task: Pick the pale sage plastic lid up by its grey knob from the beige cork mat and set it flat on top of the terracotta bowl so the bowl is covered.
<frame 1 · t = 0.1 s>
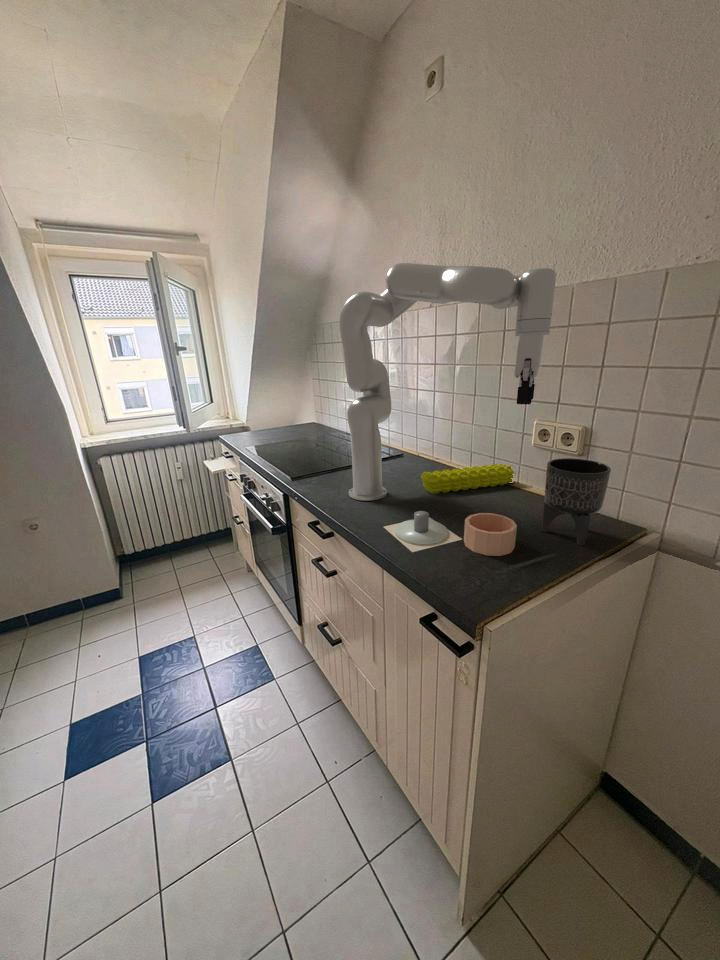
hand: (525, 401, 94), 31 cm above the worktop, tool pointing down, fingers open, 9 cm apart
planter: (567, 535, 93), on the worktop
mat: (421, 534, 95), on the worktop
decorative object: (468, 488, 127), on the worktop
lid: (421, 532, 95), point 1 cm above the worktop, touching mat
bowl: (488, 545, 88), on the worktop
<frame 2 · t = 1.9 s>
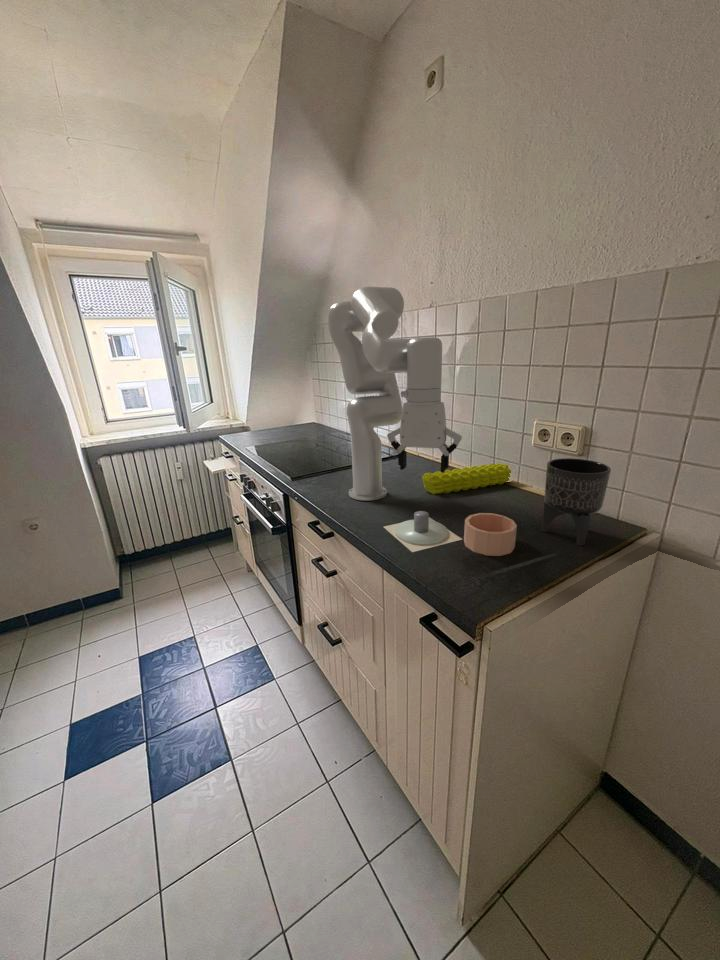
hand: (423, 469, 89), 17 cm above the worktop, tool pointing down, fingers open, 9 cm apart
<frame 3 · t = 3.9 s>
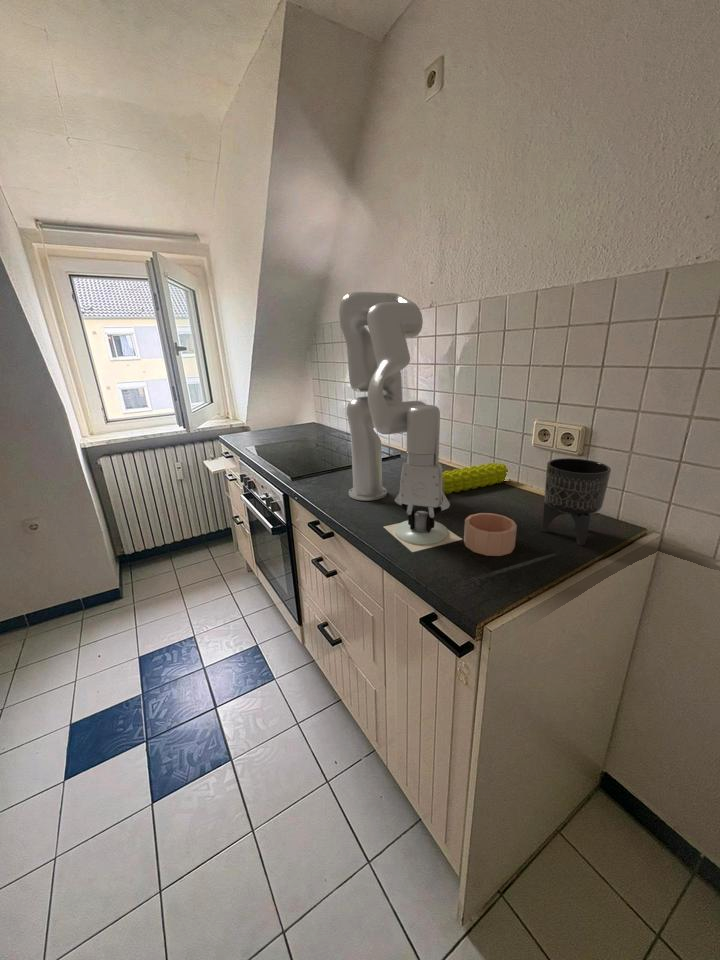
hand: (421, 528, 94), 2 cm above the worktop, tool pointing down, fingers closed on lid, 3 cm apart
lid: (421, 532, 95), point 1 cm above the worktop, touching gripper, mat
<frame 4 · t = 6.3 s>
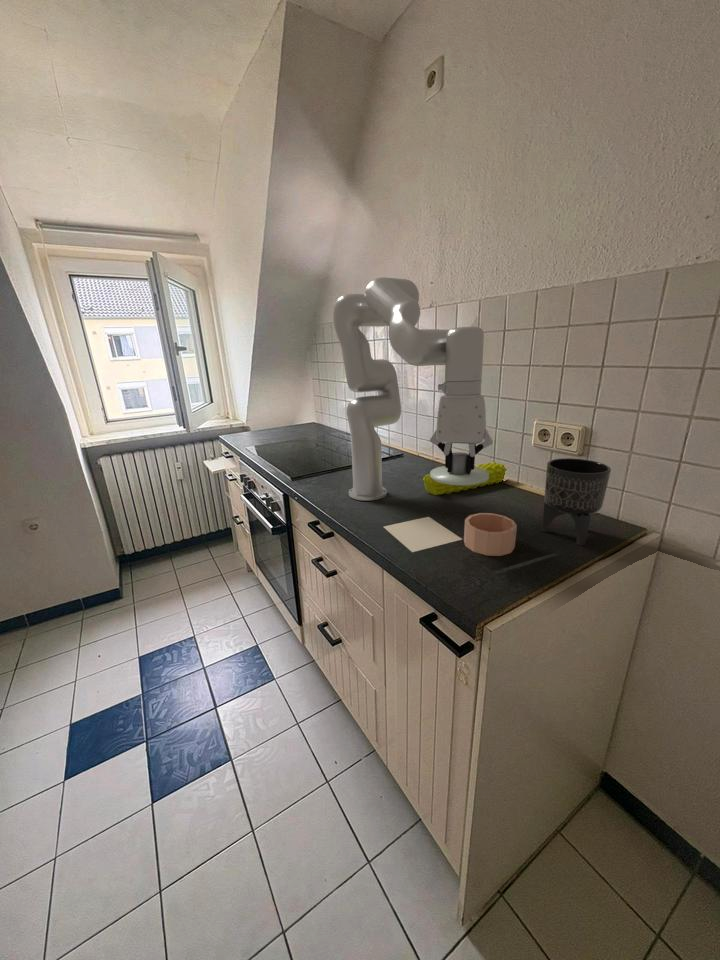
hand: (459, 470, 86), 18 cm above the worktop, tool pointing down, fingers closed on lid, 3 cm apart
lid: (459, 476, 86), point 17 cm above the worktop, touching gripper
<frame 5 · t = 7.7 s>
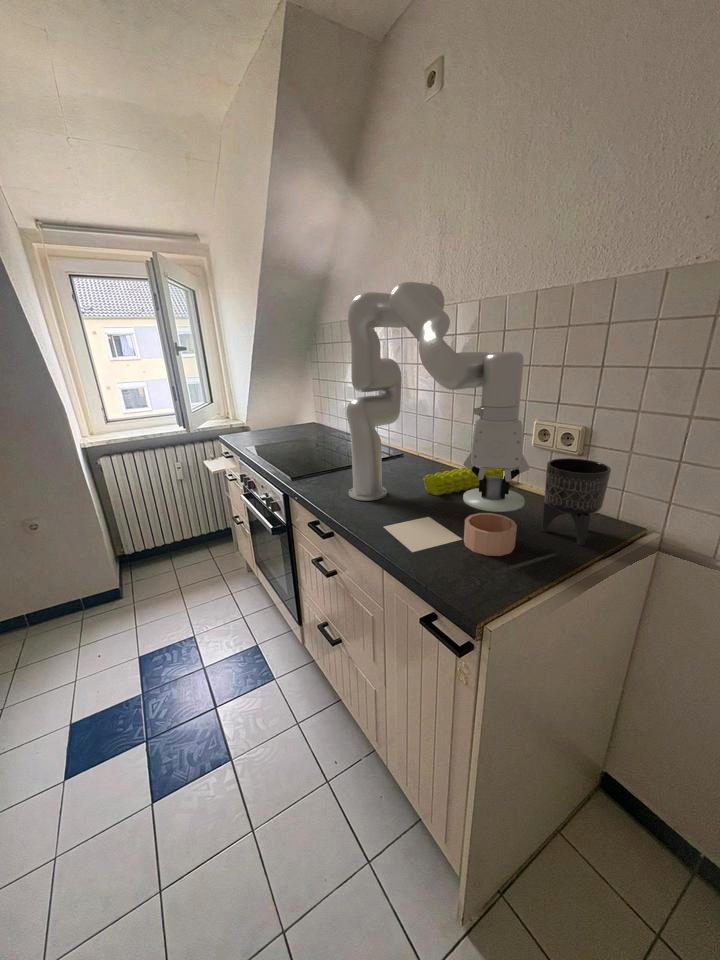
hand: (493, 495, 84), 13 cm above the worktop, tool pointing down, fingers closed on lid, 3 cm apart
lid: (492, 500, 85), point 12 cm above the worktop, touching gripper
when the fingers open (9 cm above the worktop, at t = 8.7 s): lid drops 1 cm, resting on bowl.
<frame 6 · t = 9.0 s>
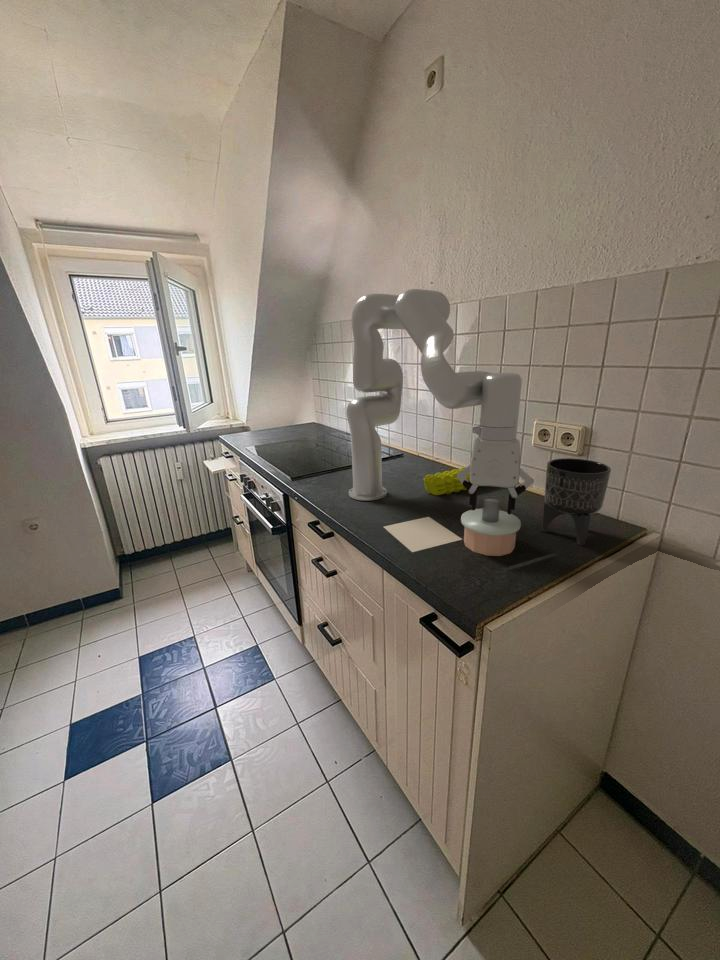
hand: (491, 509, 86), 9 cm above the worktop, tool pointing down, fingers open, 7 cm apart
lid: (489, 522, 87), point 6 cm above the worktop, touching bowl
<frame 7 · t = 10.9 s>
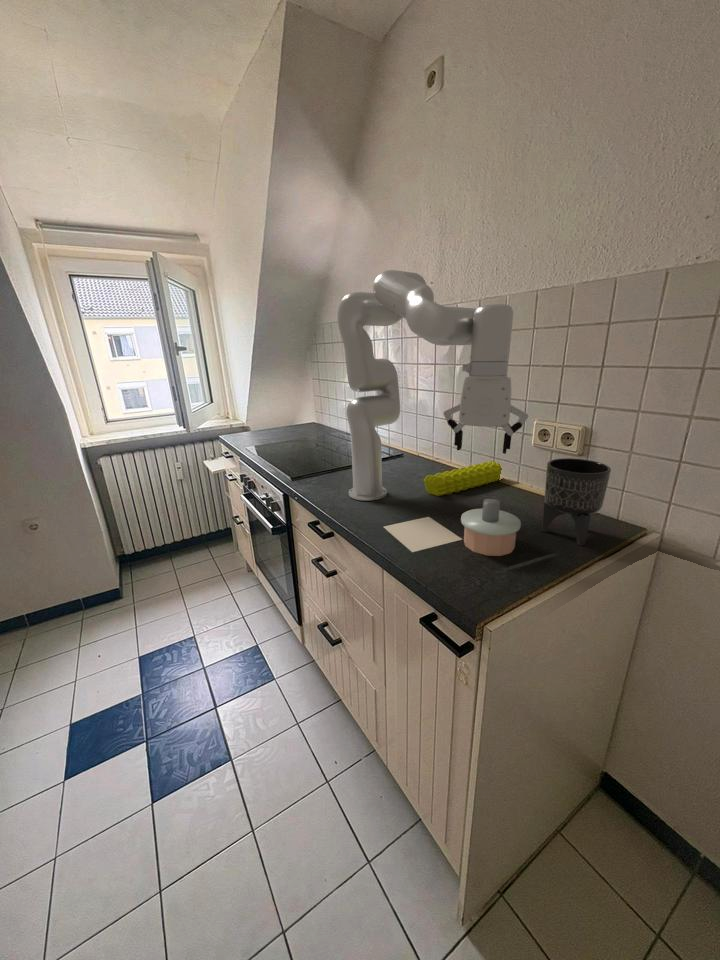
hand: (481, 450, 83), 23 cm above the worktop, tool pointing down, fingers open, 9 cm apart
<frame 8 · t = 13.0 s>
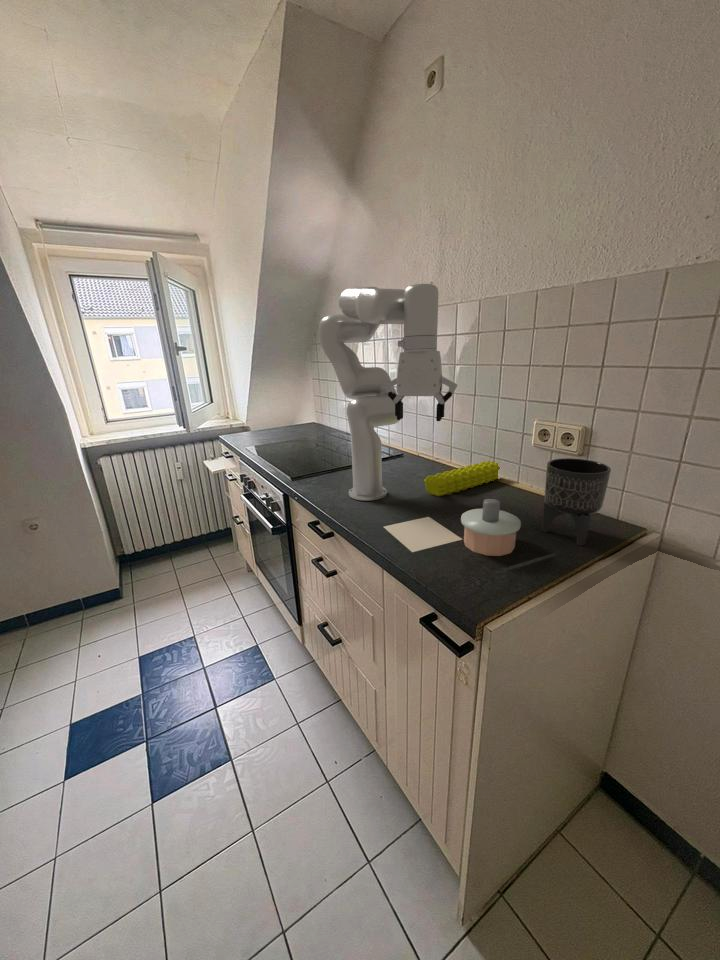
hand: (419, 419, 91), 28 cm above the worktop, tool pointing down, fingers open, 9 cm apart
at the end: lid 0.1 cm off-centre on the bowl, point 6.0 cm above the bowl's base; lid tilted 0°; lid touching bowl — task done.
